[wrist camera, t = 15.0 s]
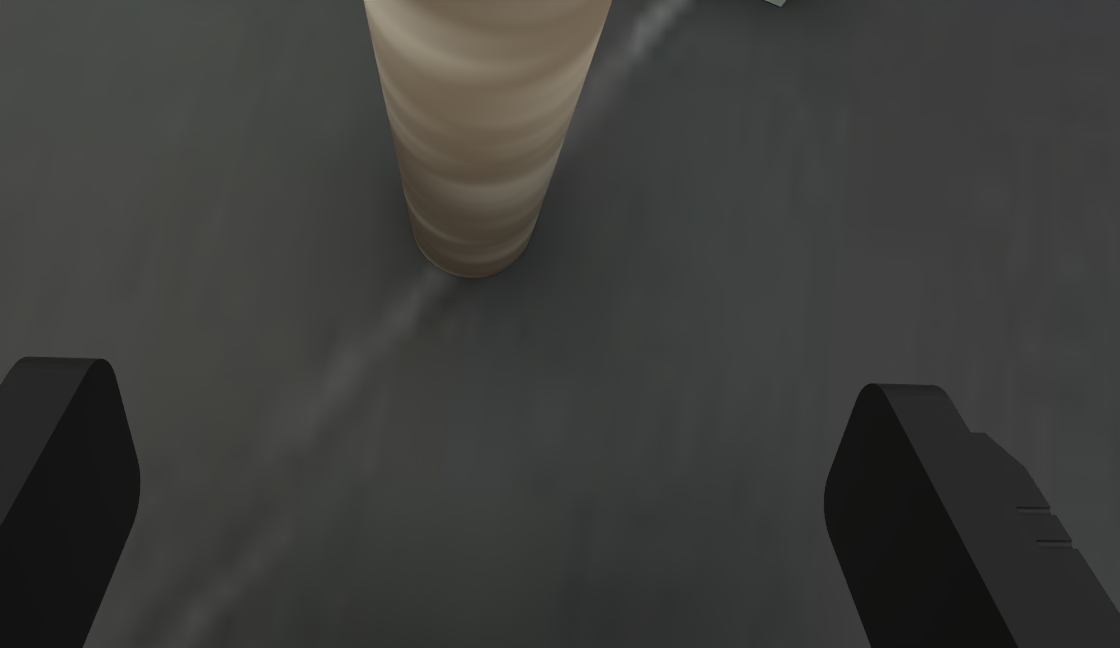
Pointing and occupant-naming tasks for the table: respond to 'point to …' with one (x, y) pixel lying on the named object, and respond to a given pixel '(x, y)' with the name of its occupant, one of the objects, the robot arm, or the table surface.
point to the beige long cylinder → (480, 115)
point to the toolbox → (777, 2)
